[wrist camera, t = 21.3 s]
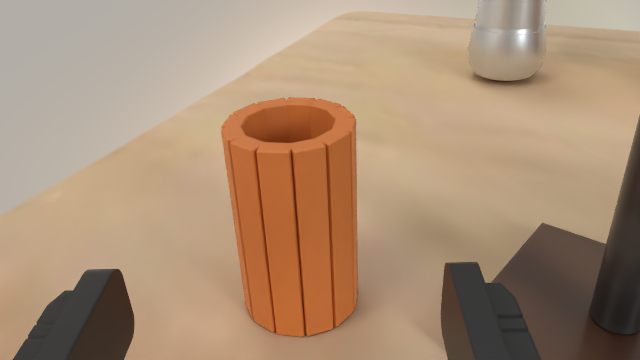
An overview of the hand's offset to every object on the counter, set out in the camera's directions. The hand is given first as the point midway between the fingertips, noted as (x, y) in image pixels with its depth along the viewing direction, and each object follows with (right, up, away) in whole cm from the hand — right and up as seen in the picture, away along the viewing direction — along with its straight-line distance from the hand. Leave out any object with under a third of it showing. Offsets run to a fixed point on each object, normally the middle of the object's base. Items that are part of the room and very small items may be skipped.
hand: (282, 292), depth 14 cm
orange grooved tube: (0, -3, +13) cm, 13 cm away
